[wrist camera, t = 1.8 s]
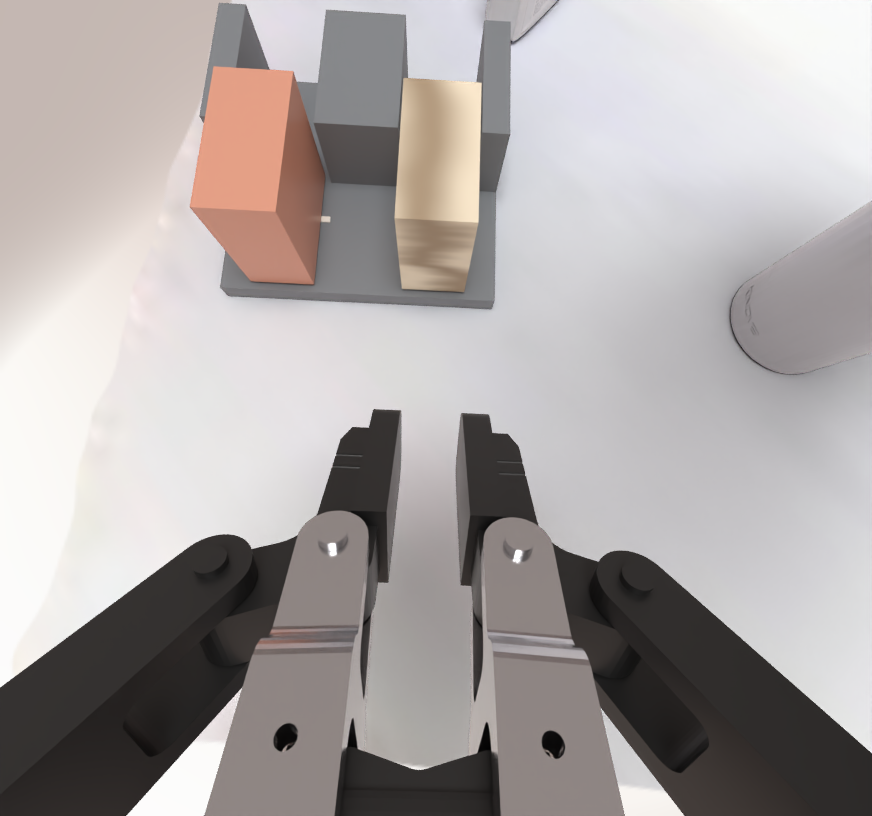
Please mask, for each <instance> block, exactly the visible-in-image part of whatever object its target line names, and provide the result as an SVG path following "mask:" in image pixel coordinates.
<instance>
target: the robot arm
mask: <svg viewBox="0 0 872 816" xmlns="http://www.w3.org/2000/svg"><path fill="white" fill-rule="evenodd" d="M731 323H732V328H733V331H734V334H735V336H736V338H737V341H738V342H739V344H740V345H741V347H742V348H743V350H744V351H745V352H746V353H747V354H748V355H749V356H750V357H751V358H752V359H753V360H755V361H756V362H758V363H759V364H760V365H762V366H764V367H766V368H768V369H770V370H772V371H775V372H779V373H784V374H801V373H807V372H810V371H813V370H817V369H820V368H823V367H826V366H830V365H833V364H836V363H839V362H843V361H846V360H849V359H853V358H856V357H860V356H863V355H866V354H869V353H872V201H871V202H869V203H868V204H866V205H864V206H863V207H861V208H860V209H858V210H857V211H855V212H854V213H852V214H850V215H849V216H847V217H846V218H844V219H843V220H841V221H840V222H838V223H837V224H835V225H833V226H832V227H830V228H829V229H827V230H826V231H824V232H823V233H821V234H820V235H818V236H816V237H815V238H813V239H812V240H810V241H809V242H807V243H806V244H804V245H802V246H801V247H799V248H798V249H796V250H795V251H793V252H792V253H790V254H789V255H787V256H785V257H784V258H782V259H781V260H779V261H778V262H776V263H775V264H773V265H771V266H770V267H768V268H767V269H765V270H764V271H762V272H761V273H759V274H758V275H756V276H755V277H753V278H752V279H750V280H749V281H747V282H746V283H744V284H743V285H742V287H741V288H740V289H739V290H738V291H737V293H736V295H735V297H734V299H733V303H732V307H731ZM400 470H401V410H378V409H374V410H373V413H372V417H371V421H370V426H369V428H360V427H352V428H351V429H350V430H349V431H348V432H347V433H346V434H345V435H344V436H343V437H342V438H341V440H340V443H339V446H338V450H337V453H336V456H335V459H334V463H333V468H332V469H331V472H330V475H329V479H328V482H327V485H326V488H325V491H324V495H323V498H322V501H321V504H320V507H319V511H318V513H317V516H315V517H314V518H312V519H311V520H309V521H308V522H307V523H306V524H305V525H304V526H303V527H302V529H301V530H300V532H299V534H298V535H297V536H296V537H294V538H292V539H289V540H287V541H284V542H280V543H276V544H272V545H268V546H263V547H259V548H255V549H251V547H250V545H249V544H248V542H247V541H245V540H244V539H243V538H241V537H238V536H235V535H228V534H227V535H216V536H212V537H208V538H205V539H203V540H200V541H199V542H197V543H195V544H193V545H192V546H190V547H189V548H187V549H186V550H184V551H183V552H182V553H180V554H179V555H178V556H176V557H175V558H174V559H172V560H171V561H170V562H168V563H167V564H166V565H164V566H163V567H162V568H160V569H159V570H158V571H156V572H155V573H154V574H152V575H151V576H150V577H148V578H147V579H146V580H144V581H143V582H141V583H140V584H139V585H137V586H136V587H135V588H133V589H132V590H131V591H129V592H128V593H127V594H125V595H124V596H123V597H121V598H120V599H119V600H117V601H116V602H115V603H113V604H112V605H111V606H109V607H108V608H107V609H105V610H104V611H103V612H101V613H100V614H98V615H97V616H96V617H94V618H93V619H92V620H90V621H89V622H88V623H86V624H85V625H84V626H82V627H81V628H80V629H78V630H77V631H76V632H74V633H73V634H72V635H70V636H69V637H68V638H66V639H65V640H64V641H62V642H61V643H60V644H58V645H57V646H56V647H54V648H53V649H51V650H50V651H49V652H47V653H46V654H45V655H43V656H42V657H41V658H39V659H38V660H37V661H35V662H34V663H33V664H31V665H30V666H29V667H27V668H26V669H25V670H23V671H22V672H21V673H19V674H18V675H17V676H15V677H14V678H13V679H11V680H10V681H9V682H7V683H6V684H4V685H3V686H2V687H0V816H126V815H127V814H128V813H129V812H130V811H131V810H132V809H133V808H134V806H135V805H136V804H137V803H138V802H139V801H140V800H141V799H142V798H143V796H144V795H145V794H146V793H147V792H148V791H149V790H150V789H151V788H152V786H153V785H154V784H155V783H156V782H157V781H158V780H159V779H160V778H161V777H162V775H163V774H164V773H165V772H166V771H167V770H168V769H169V768H170V767H171V766H172V764H173V763H174V762H175V761H176V760H177V759H178V758H179V757H180V756H181V754H182V753H183V752H184V751H185V750H186V749H187V748H188V747H189V746H190V744H191V743H192V742H193V741H194V740H195V739H196V738H197V737H198V736H199V734H200V733H201V732H202V731H203V730H204V729H205V728H206V727H207V726H208V725H209V723H210V722H211V721H212V720H213V719H214V718H215V717H216V716H217V715H218V713H219V712H220V711H221V710H222V709H223V708H224V707H225V706H226V705H227V703H228V702H229V701H230V700H231V699H232V698H233V697H234V696H235V695H236V693H237V692H238V691H239V690H240V689H241V688H242V691H241V694H240V698H239V701H238V704H237V708H236V711H235V714H234V718H233V721H232V725H231V728H230V731H229V735H228V738H227V741H226V745H225V748H224V751H223V755H222V758H221V762H220V765H219V768H218V772H217V775H216V779H215V782H214V785H213V789H212V792H211V795H210V799H209V802H208V805H207V809H206V812H205V815H204V816H625V814H624V810H623V806H622V801H621V797H620V792H619V788H618V784H617V779H616V775H615V770H614V766H613V762H612V757H611V753H610V748H609V744H608V739H607V735H606V731H605V726H604V722H603V717H602V713H601V709H600V707H601V708H602V710H603V711H604V712H605V714H606V715H607V716H608V717H609V719H610V720H611V721H612V723H613V724H614V725H615V726H616V728H617V729H618V730H619V732H620V733H621V734H622V736H623V737H624V738H625V739H626V741H627V742H628V743H629V745H630V746H631V747H632V748H633V750H634V751H635V752H636V754H637V755H638V756H639V757H640V759H641V760H642V761H643V763H644V764H645V765H646V767H647V768H648V769H649V770H650V772H651V773H652V774H653V776H654V777H655V778H656V779H657V781H658V782H659V783H660V785H661V786H662V787H663V788H664V790H665V791H666V792H667V793H668V795H669V796H670V797H671V799H672V800H673V801H674V803H675V804H676V805H677V807H678V808H679V809H680V810H681V812H682V813H683V814H684V816H872V753H871V752H870V751H868V750H867V749H866V748H865V747H864V746H863V745H862V744H861V743H859V742H858V741H857V740H856V739H855V738H854V737H853V736H851V735H850V734H849V733H848V732H847V731H846V730H845V729H843V728H842V727H841V726H840V725H839V724H838V723H837V722H835V721H834V720H833V719H832V718H831V717H830V716H829V715H828V714H826V713H825V712H824V711H823V710H822V709H821V708H820V707H818V706H817V705H816V704H815V703H814V702H813V701H812V700H810V699H809V698H808V697H807V696H806V695H805V694H804V693H802V692H801V691H800V690H799V689H798V688H797V687H796V686H795V685H793V684H792V683H791V682H790V681H789V680H788V679H787V678H785V677H784V676H783V675H782V674H781V673H780V672H779V671H777V670H776V669H775V668H774V667H773V666H772V665H771V664H769V663H768V662H767V661H766V660H765V659H764V658H763V657H762V656H760V655H759V654H758V653H757V652H756V651H755V650H754V649H752V648H751V647H750V646H749V645H748V644H747V643H746V642H744V641H743V640H742V639H741V638H740V637H739V636H738V635H736V634H735V633H734V632H733V631H732V630H731V629H730V628H729V627H727V626H726V625H725V624H724V623H723V622H722V621H721V620H719V619H718V618H717V617H716V616H715V615H714V614H713V613H711V612H710V611H709V610H708V609H707V608H706V607H705V606H703V605H702V604H701V603H700V602H699V601H698V600H697V599H696V598H694V597H693V596H692V595H691V594H690V593H689V592H688V591H686V590H685V589H684V588H683V587H682V586H681V585H680V584H678V583H677V582H676V581H675V580H674V579H673V578H672V577H671V576H669V575H668V574H667V573H666V572H665V571H664V570H663V569H661V568H660V567H659V566H658V565H657V564H655V563H654V562H653V561H651V560H649V559H648V558H646V557H644V556H642V555H639V554H637V553H634V552H629V551H613V552H610V553H607V554H606V555H604V556H603V557H602V558H601V559H600V561H599V562H597V561H594V560H591V559H587V558H584V557H581V556H578V555H575V554H572V553H569V552H567V551H565V550H563V549H561V548H559V547H557V546H556V545H554V544H553V543H552V542H551V540H550V538H549V536H548V535H547V534H546V532H545V531H544V530H543V529H542V528H540V527H539V526H538V523H537V520H536V516H535V511H534V507H533V503H532V499H531V495H530V491H529V487H528V483H527V479H526V476H525V471H524V467H523V464H522V458H521V454H520V450H519V447H518V445H517V444H516V443H515V442H514V441H513V440H512V438H511V437H510V436H509V435H508V434H497V433H492V429H491V423H490V417H489V415H488V414H468V413H461V417H460V427H459V437H458V447H457V457H456V495H457V517H458V539H459V561H460V582H461V585H466V586H472V600H473V604H472V609H471V617H470V632H471V715H470V728H469V748H468V756H466V757H463V758H460V759H457V760H454V761H450V762H447V763H444V764H441V765H438V766H434V767H431V768H428V769H424V770H414V769H411V768H408V767H405V766H402V765H400V764H397V763H394V762H392V761H389V760H386V759H384V758H381V757H378V756H375V755H373V754H370V753H367V752H365V740H366V703H367V689H368V676H369V663H370V650H371V636H372V623H373V609H374V605H375V600H376V592H377V585H378V582H384V583H388V580H389V571H390V562H391V553H392V544H393V535H394V526H395V517H396V508H397V499H398V490H399V481H400Z"/></svg>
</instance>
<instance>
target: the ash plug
mask: <svg viewBox="0 0 872 816" xmlns="http://www.w3.org/2000/svg"><path fill="white" fill-rule="evenodd" d="M481 87H482V83H478V82H462V81H445V80H429V79H413V78H404V79H403V94H402V109H401V125H400V140H399V156H398V171H397V187H396V202H395V217H394V219H395V228H396V238H397V247H398V257H399V266H400V276H401V285H402V289H413V290H433V291H453V292H464V290H465V285H466V281H467V276H468V271H469V266H470V261H471V256H472V252H473V247H474V242H475V237H476V232H477V227H478V223H479V178H480V132H481Z"/></svg>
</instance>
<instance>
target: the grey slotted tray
mask: <svg viewBox="0 0 872 816" xmlns="http://www.w3.org/2000/svg"><path fill="white" fill-rule="evenodd" d="M510 61H511V22H509V21H493V20H485V21H484V28H483V36H482V44H481V51H480V59H479V67H478V74H477V82H478V83H482V87H481V132H480V178H479V223H478V227H477V232H476V237H475V242H474V247H473V252H472V256H471V261H470V266H469V271H468V276H467V281H466V285H465V290H464V292H453V291H433V290H413V289H402V285H401V276H400V266H399V257H398V247H397V238H396V228H395V219H394V217H395V202H396V187H397V171H398V156H399V140H400V125H401V109H402V94H403V79H404V78H408V65H407V38H406V15H400V14H384V13H369V12H353V11H338V10H326V15H325V24H324V33H323V42H322V51H321V60H320V69H319V78H318V83H308V82H297V85H298V88H299V92H300V95H301V98H302V101H303V105H304V108H305V111H306V114H307V117H308V121H309V124H310V127H311V130H312V134H313V137H314V140H315V143H316V146H317V150H318V153H319V156H320V159H321V163H322V166H323V169H324V172H325V183H324V192H323V202H322V212H321V222H320V232H319V241H318V251H317V261H316V271H315V281H314V284H294V283H274V282H254V281H250V280H249V278H248V277H247V276H246V275H245V274H244V272H243V271H242V270H241V269H240V268H239V266H238V265H237V264H236V263H235V261H234V260H233V259H232V258H231V257H230V255H229V254H228V253H227V252H226V251H225V257H224V264H223V271H222V278H221V284H220V288H221V289H222V290H223V291H224V292H225V293H226V294H227V295H228V296H242V297H262V298H283V299H303V300H323V301H343V302H364V303H384V304H404V305H424V306H444V307H465V308H485V309H492V306H493V303H494V295H495V222H496V190H497V185H498V181H499V177H500V173H501V169H502V165H503V161H504V157H505V153H506V149H507V144H508V140H509V136H510ZM214 66H216V67H233V68H249V69H265V70H270V69H269V67H268V64H267V61H266V58H265V56H264V53H263V50H262V47H261V45H260V42H259V39H258V37H257V34H256V31H255V28H254V26H253V23H252V20H251V17H250V15H249V12H248V9H247V6H246V5H244V4H229V3H219V6H218V12H217V17H216V23H215V29H214V35H213V40H212V46H211V52H210V58H209V64H208V69H207V75H206V81H205V87H204V93H203V98H202V104H201V110H200V118H201V119H202V121H203V123H204V120H205V114H206V108H207V102H208V96H209V90H210V85H211V79H212V73H213V67H214Z"/></svg>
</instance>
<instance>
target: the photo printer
mask: <svg viewBox="0 0 872 816" xmlns="http://www.w3.org/2000/svg"><path fill="white" fill-rule="evenodd" d="M556 1H557V0H487V7H486V16H485V20H493V21H509V22H511V40H512V41H515V40H517V39H518V38H520V37H521V36H522V35H523V34H524V33H526V32H527V31H528V30H529V29H530V28H531V27H532V26H533V25H534V24H535V23H536V22H537V21H538V20H539V19H540V18H541V17H542V16H543V15H544V14H545V13H546V12H547V11H548V10H549V9H550V8H551V7H552V6H553V5H554V4H555V3H556Z"/></svg>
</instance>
